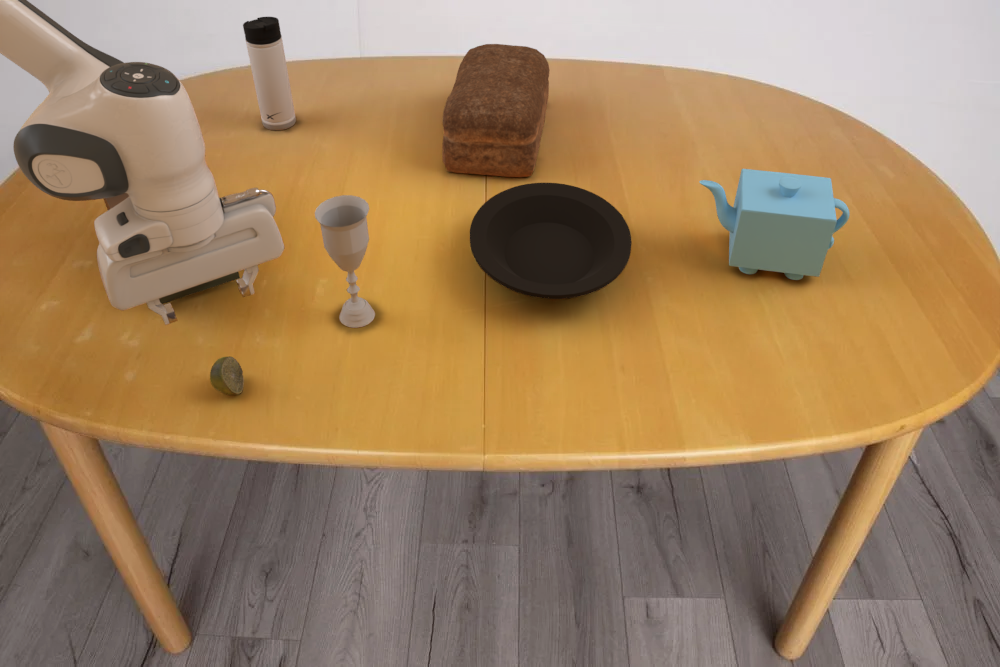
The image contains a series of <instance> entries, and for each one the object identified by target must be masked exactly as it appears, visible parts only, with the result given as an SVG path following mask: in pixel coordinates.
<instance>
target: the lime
mask: <svg viewBox="0 0 1000 667" xmlns="http://www.w3.org/2000/svg"><path fill="white" fill-rule="evenodd" d="M243 371H244V370H243V369H242V366H241V364H240V362H239V361H238V360H237V359H236V358H235V357H233V356H222V357H219V358H217V360H216V361H214V363H213V365H212V366H211V369H210V372H209V373H210V374H209V380H210V384H211V385H212V387H213V389H215V390H216V391H217V392H219V393H222V394H224V395H227V396H234V395H235V396H237V395H239V394H241V393H243V391H244V390H243V389H244V385H245V384H244V383H245V379H244V375H243V373H244V372H243Z"/></svg>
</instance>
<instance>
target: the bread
mask: <svg viewBox="0 0 1000 667" xmlns="http://www.w3.org/2000/svg"><path fill="white" fill-rule="evenodd" d="M549 77H550V64H549V62H548V60H547V58H546V56H545V55H544V54H543V53H542V52H541V51H539V50H538V49H536V48H533V47H530V46H526V45H525V46H524V45H512V44H503V43H502V44H500V43H485V44H481V45H477V46H475V47H472V48H470V49H469V50H468V51H467V52H466V54H465V55H464V56H463V57H462V60H461V62H460V63H459V66H458V70H457V73H456V76H455V81H454V83H453V87H452V90H451V92H450V94H449V96H448V97H447V99H446V102H445V105H444V109H443V113H442V126H443V137H442V150H441V152H442V163H443V164H444V166H445V169H446V171H447V172H451V173H458V174H469V175H470V174H471V175H483V176H494V177H507V178H526V177H532V175H533V173H534V171H535V167H536V164H537V159H538V154H539V150H540V146H541V141H542V140H541V139H542V134H543V131H544V125H545V120H546V114H547V108H548V101H549V97H550V96H549V93H550V81H549V79H550V78H549Z"/></svg>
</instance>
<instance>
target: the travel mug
mask: <svg viewBox="0 0 1000 667" xmlns="http://www.w3.org/2000/svg"><path fill="white" fill-rule="evenodd" d="M242 27H243V28H242V29H243V33H244V38H245V43H246V49H247V54H248V59H249V64H250V69H251V74H252V78H253V84H254V90H255V94H256V99H257V104H258V109H259V112H260V113H259V114H260V117H261V118H260V119H261V123H262V126H263V127H264V128H265V129H267V130H270V131H285V130H287V129H290V128H291V127H293V126H294V125H295V124H296V122H297V118H296V111H295V105H294V99H293V93H292V87H291V83H290V76H289V71H288V65H287V60H286V52H285V49H284V42H283V36H282V32H281V27H280V21H279V18H277V17H275V16H260V17H256V19H252V20H247V21H245V22H244V23H242Z"/></svg>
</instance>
